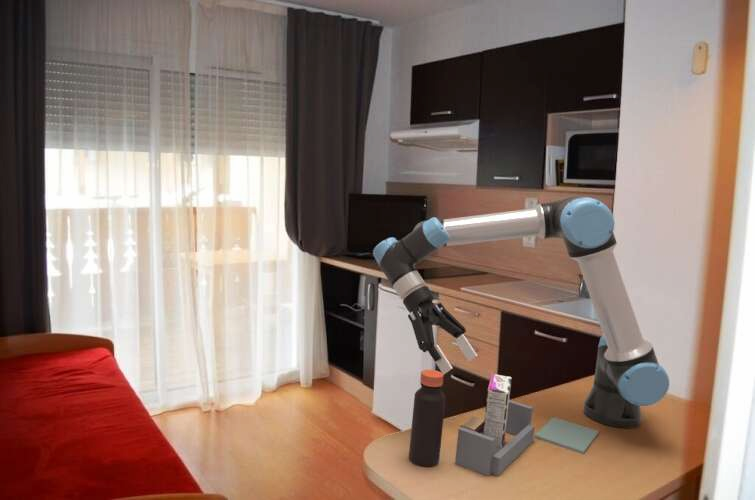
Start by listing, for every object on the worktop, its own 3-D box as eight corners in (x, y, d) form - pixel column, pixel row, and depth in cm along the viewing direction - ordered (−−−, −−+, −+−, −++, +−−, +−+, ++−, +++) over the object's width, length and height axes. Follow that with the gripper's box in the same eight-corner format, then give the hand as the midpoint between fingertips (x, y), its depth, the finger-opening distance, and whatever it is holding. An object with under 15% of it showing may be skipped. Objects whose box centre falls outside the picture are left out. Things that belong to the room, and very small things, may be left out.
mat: (598, 433, 147) (599, 431, 147) (583, 453, 134) (583, 451, 134) (553, 419, 153) (553, 417, 153) (534, 437, 141) (534, 435, 141)
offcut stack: (484, 439, 138) (487, 420, 137) (472, 451, 131) (475, 431, 131) (469, 434, 140) (471, 415, 140) (456, 446, 133) (459, 426, 133)
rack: (535, 439, 140) (538, 408, 139) (494, 478, 120) (499, 443, 118) (499, 427, 145) (502, 397, 144) (455, 463, 125) (458, 429, 124)
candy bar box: (484, 436, 139) (491, 372, 137) (505, 440, 138) (512, 376, 136) (479, 456, 129) (487, 388, 127) (501, 461, 127) (509, 392, 125)
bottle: (445, 461, 125) (454, 375, 123) (425, 470, 121) (434, 381, 118) (422, 449, 130) (430, 366, 128) (402, 457, 125) (410, 371, 123)
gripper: (428, 295, 155) (472, 361, 149) (376, 308, 135) (424, 385, 128) (447, 279, 151) (493, 346, 145) (397, 290, 131) (447, 369, 124)
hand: (461, 365), depth 136 cm, fingers open, 13 cm apart
